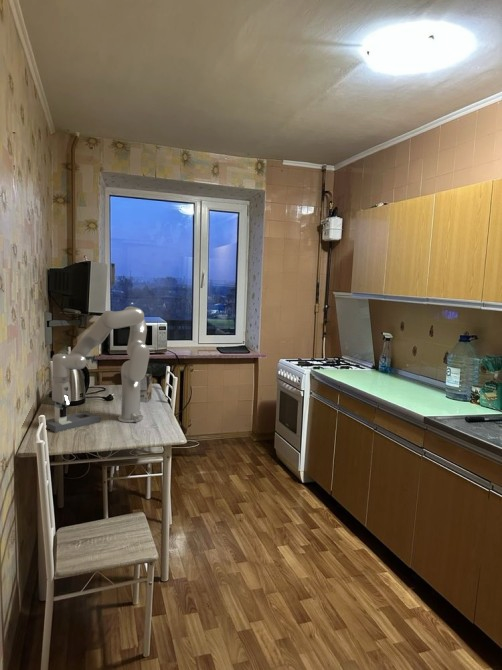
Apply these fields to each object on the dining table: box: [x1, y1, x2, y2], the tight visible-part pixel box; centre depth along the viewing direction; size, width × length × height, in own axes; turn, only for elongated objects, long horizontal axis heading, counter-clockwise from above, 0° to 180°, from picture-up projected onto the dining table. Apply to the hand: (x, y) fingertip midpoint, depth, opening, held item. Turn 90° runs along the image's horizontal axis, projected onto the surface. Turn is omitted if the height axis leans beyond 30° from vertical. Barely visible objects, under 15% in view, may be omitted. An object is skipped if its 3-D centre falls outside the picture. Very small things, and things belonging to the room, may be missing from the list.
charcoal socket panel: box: [46, 411, 101, 433], centre depth 223 cm, size 12×24×3 cm, turn 143°
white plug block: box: [54, 403, 67, 424], centre depth 218 cm, size 4×4×10 cm
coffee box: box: [140, 372, 153, 403], centre depth 274 cm, size 9×6×16 cm
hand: (60, 415), depth 218 cm, fingers closed on white plug block, 3 cm apart
